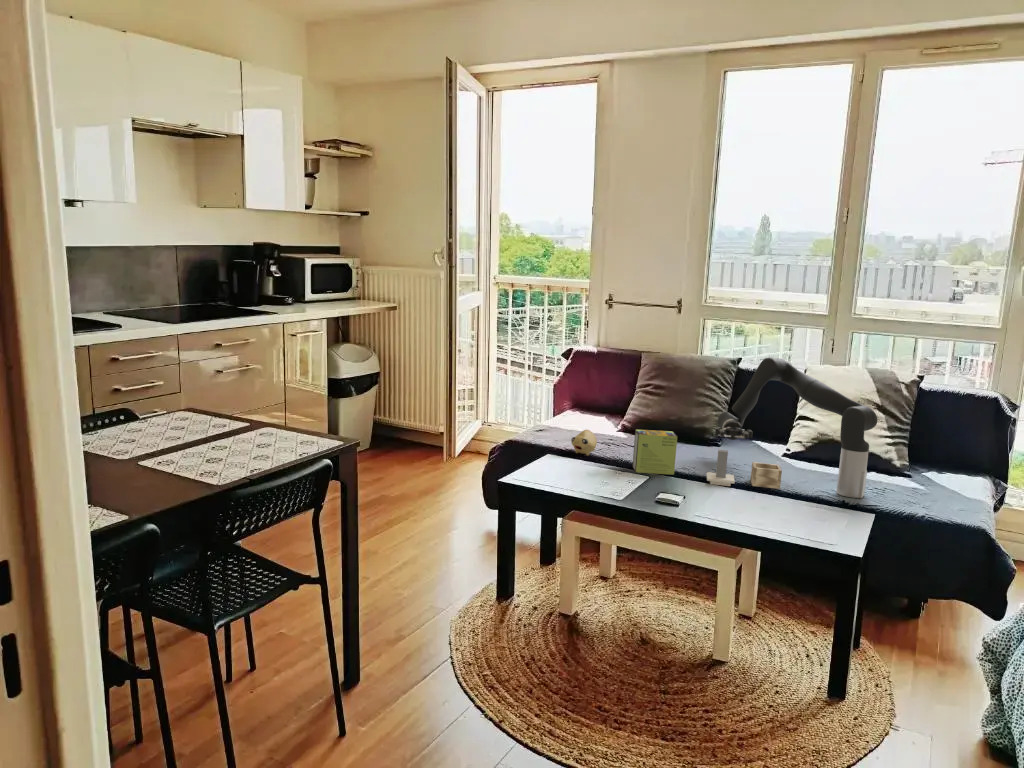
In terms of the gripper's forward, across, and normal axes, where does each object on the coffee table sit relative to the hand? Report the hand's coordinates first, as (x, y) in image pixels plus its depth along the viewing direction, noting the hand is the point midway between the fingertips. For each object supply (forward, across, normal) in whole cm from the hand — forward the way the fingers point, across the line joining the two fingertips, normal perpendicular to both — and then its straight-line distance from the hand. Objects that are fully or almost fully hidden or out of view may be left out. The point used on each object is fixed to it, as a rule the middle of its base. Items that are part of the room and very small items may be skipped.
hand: (734, 435), depth 299 cm
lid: (+9, -5, +17) cm, 20 cm away
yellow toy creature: (-16, -61, +16) cm, 65 cm away
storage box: (+4, +12, +17) cm, 22 cm away
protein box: (0, -30, +17) cm, 35 cm away
